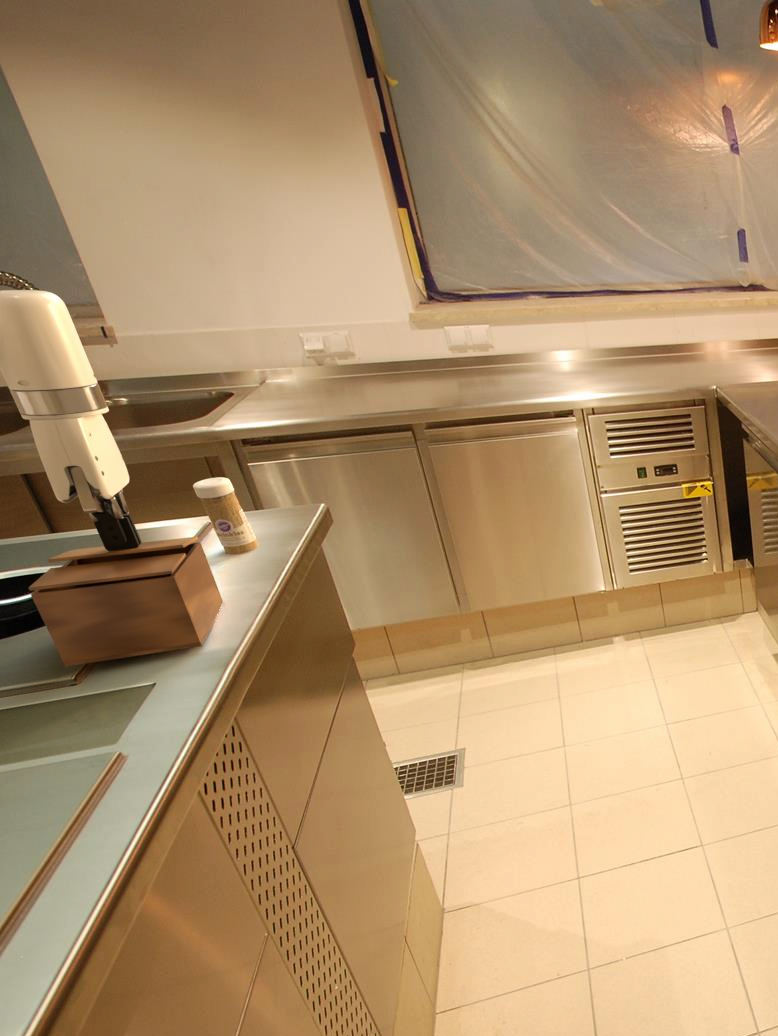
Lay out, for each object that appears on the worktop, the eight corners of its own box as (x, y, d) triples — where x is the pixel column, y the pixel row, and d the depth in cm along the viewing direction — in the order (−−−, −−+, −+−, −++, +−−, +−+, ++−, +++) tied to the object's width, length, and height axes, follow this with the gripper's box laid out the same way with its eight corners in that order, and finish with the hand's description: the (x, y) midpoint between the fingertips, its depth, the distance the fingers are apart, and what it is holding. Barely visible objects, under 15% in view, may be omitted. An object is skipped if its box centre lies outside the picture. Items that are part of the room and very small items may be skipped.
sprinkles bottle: (229, 569, 133) (189, 488, 126) (232, 558, 136) (193, 479, 129) (264, 562, 135) (227, 483, 128) (267, 552, 138) (230, 474, 131)
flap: (48, 562, 103) (47, 559, 103) (72, 552, 109) (71, 549, 109) (183, 547, 109) (182, 544, 109) (198, 539, 115) (197, 536, 115)
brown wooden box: (65, 666, 102) (27, 588, 97) (103, 621, 113) (70, 549, 109) (202, 645, 108) (171, 570, 103) (224, 605, 119) (198, 536, 115)
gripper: (41, 394, 104) (103, 535, 112) (-8, 415, 92) (65, 570, 100) (121, 390, 107) (176, 527, 115) (83, 410, 96) (147, 561, 104)
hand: (124, 547), depth 108 cm, fingers closed
